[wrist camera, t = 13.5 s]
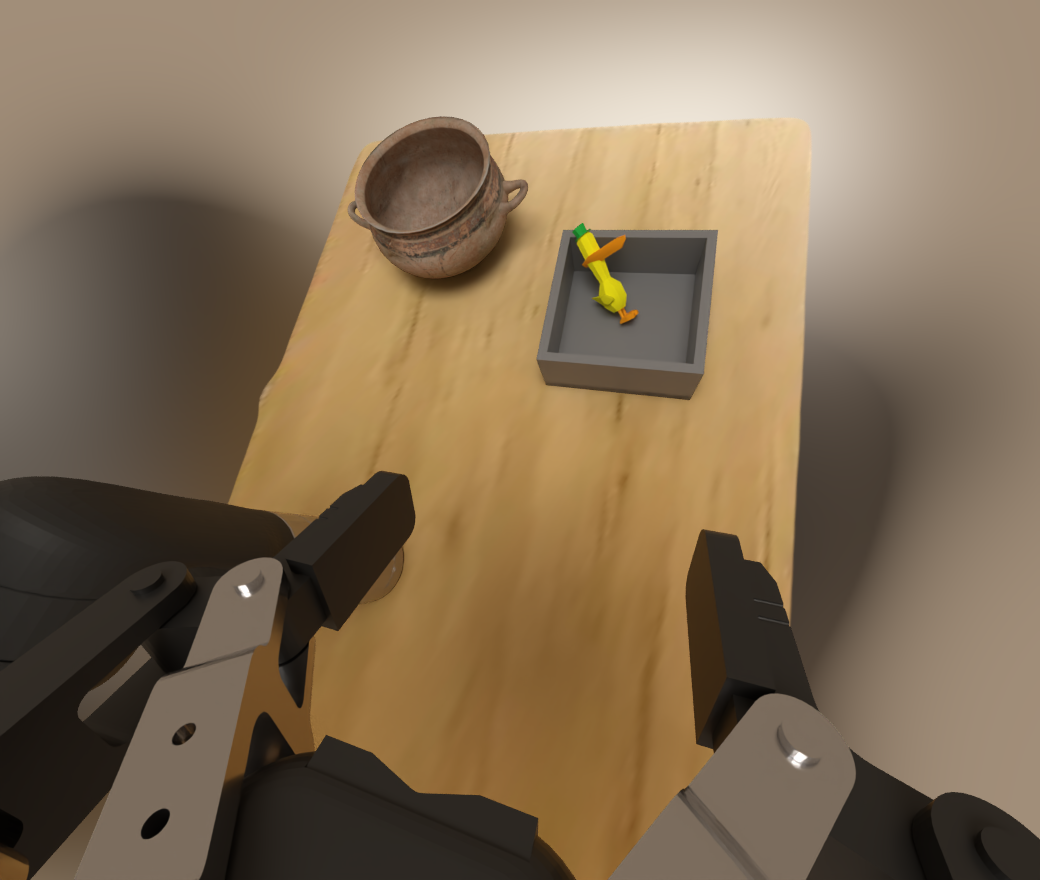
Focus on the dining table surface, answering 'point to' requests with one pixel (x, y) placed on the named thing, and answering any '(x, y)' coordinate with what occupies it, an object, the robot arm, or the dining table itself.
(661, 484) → the dining table surface
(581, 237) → the toy figure
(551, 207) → the dining table surface
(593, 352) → the bin
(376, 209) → the cooking pot
